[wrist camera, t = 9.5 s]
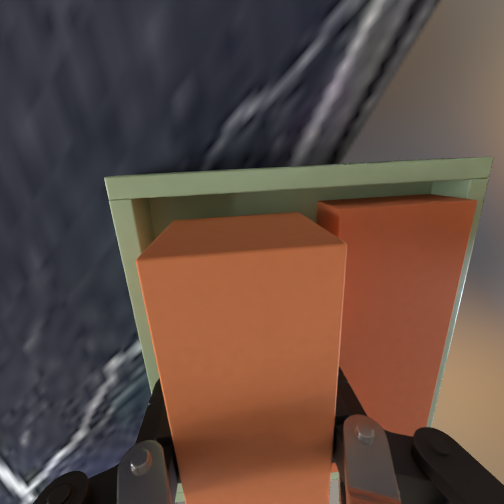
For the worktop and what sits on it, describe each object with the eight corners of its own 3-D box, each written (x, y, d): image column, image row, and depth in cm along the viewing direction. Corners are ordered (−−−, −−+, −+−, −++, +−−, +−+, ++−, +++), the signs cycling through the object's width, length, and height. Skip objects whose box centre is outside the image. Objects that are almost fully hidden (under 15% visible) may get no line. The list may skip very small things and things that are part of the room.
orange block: (172, 219, 10) (133, 259, 6) (299, 211, 10) (349, 243, 6) (209, 465, 15) (202, 589, 10) (296, 453, 15) (325, 568, 11)
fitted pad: (317, 200, 12) (339, 208, 10) (430, 193, 12) (478, 200, 10) (310, 430, 17) (323, 474, 14) (392, 420, 17) (419, 461, 15)
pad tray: (131, 174, 12) (103, 177, 9) (438, 158, 13) (494, 156, 10) (183, 451, 17) (175, 502, 15) (393, 424, 18) (422, 468, 16)
